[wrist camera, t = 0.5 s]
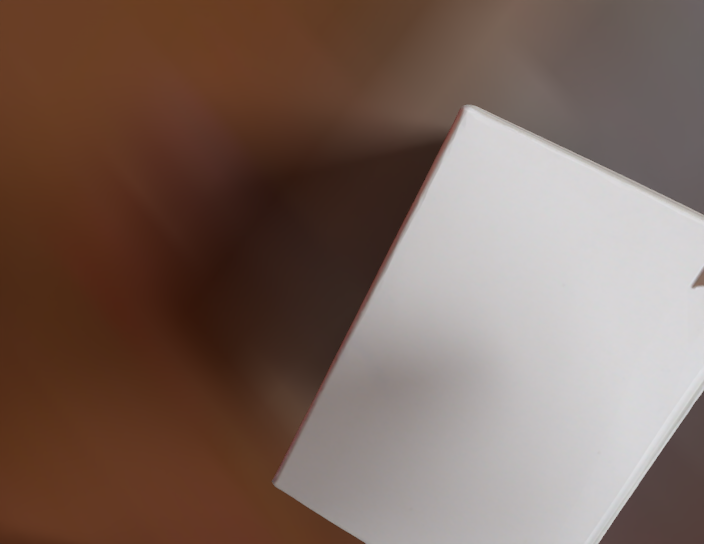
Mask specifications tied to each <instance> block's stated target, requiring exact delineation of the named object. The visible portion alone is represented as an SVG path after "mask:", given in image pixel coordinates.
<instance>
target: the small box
mask: <svg viewBox="0 0 704 544" xmlns="http://www.w3.org/2000/svg"><path fill="white" fill-rule="evenodd" d="M703 390H704V215H703V214H701V213H699V212H697V211H694V210H692V209H690V208H688V207H686V206H684V205H682V204H680V203H678V202H676V201H674V200H672V199H670V198H668V197H666V196H664V195H662V194H660V193H658V192H656V191H654V190H651V189H649V188H647V187H645V186H643V185H641V184H639V183H637V182H635V181H633V180H631V179H629V178H627V177H625V176H622V175H620V174H618V173H616V172H614V171H612V170H610V169H608V168H606V167H604V166H601V165H599V164H597V163H595V162H593V161H591V160H589V159H587V158H585V157H583V156H580V155H578V154H576V153H574V152H572V151H570V150H568V149H566V148H563V147H561V146H559V145H557V144H555V143H553V142H551V141H549V140H546V139H544V138H542V137H540V136H538V135H536V134H534V133H532V132H529V131H527V130H525V129H523V128H521V127H519V126H517V125H515V124H513V123H510V122H508V121H506V120H504V119H502V118H500V117H498V116H496V115H494V114H492V113H490V112H487V111H485V110H483V109H481V108H479V107H477V106H474V105H464V106H462V107H461V108H460V110H459V112H458V115H457V117H456V119H455V121H454V123H453V125H452V127H451V129H450V131H449V133H448V135H447V136H446V138H445V140H444V142H443V144H442V146H441V148H440V150H439V152H438V154H437V156H436V158H435V160H434V162H433V164H432V166H431V168H430V170H429V172H428V174H427V176H426V178H425V180H424V182H423V184H422V186H421V188H420V190H419V192H418V194H417V196H416V198H415V200H414V202H413V204H412V206H411V208H410V210H409V212H408V214H407V215H406V217H405V219H404V221H403V223H402V225H401V227H400V229H399V231H398V233H397V235H396V237H395V239H394V241H393V243H392V245H391V247H390V249H389V251H388V253H387V255H386V257H385V259H384V261H383V263H382V265H381V267H380V269H379V271H378V273H377V275H376V277H375V279H374V281H373V283H372V285H371V287H370V289H369V291H368V293H367V295H366V297H365V299H364V301H363V302H362V304H361V306H360V308H359V310H358V312H357V314H356V316H355V318H354V320H353V322H352V324H351V326H350V328H349V330H348V332H347V334H346V336H345V338H344V340H343V342H342V344H341V346H340V348H339V350H338V352H337V354H336V356H335V358H334V360H333V362H332V364H331V366H330V368H329V370H328V372H327V374H326V376H325V378H324V380H323V382H322V384H321V386H320V388H319V390H318V392H317V394H316V396H315V398H314V400H313V402H312V404H311V406H310V407H309V409H308V411H307V413H306V415H305V417H304V419H303V421H302V423H301V425H300V427H299V429H298V431H297V433H296V435H295V437H294V439H293V441H292V443H291V445H290V447H289V449H288V451H287V453H286V455H285V457H284V459H283V461H282V463H281V465H280V467H279V469H278V471H277V473H276V475H275V476H274V478H273V480H272V482H273V484H274V485H275V487H277V488H278V489H280V490H282V491H283V492H285V493H287V494H288V495H290V496H292V497H293V498H295V499H296V500H298V501H299V502H301V503H302V504H304V505H305V506H307V507H308V508H310V509H311V510H313V511H314V512H316V513H318V514H319V515H321V516H322V517H324V518H326V519H327V520H329V521H330V522H332V523H334V524H335V525H337V526H339V527H340V528H342V529H343V530H345V531H347V532H348V533H350V534H352V535H353V536H355V537H357V538H358V539H360V540H361V541H363V542H365V543H366V544H598V543H599V542H600V540H601V539H602V537H603V536H604V534H605V533H606V531H607V530H608V528H609V527H610V525H611V524H612V522H613V521H614V519H615V518H616V516H617V515H618V513H619V512H620V510H621V509H622V507H623V506H624V505H625V503H626V502H627V500H628V499H629V498H630V496H631V495H632V493H633V492H634V490H635V489H636V487H637V486H638V484H639V483H640V481H641V480H642V478H643V477H644V476H645V474H646V473H647V471H648V470H649V468H650V467H651V465H652V464H653V462H654V461H655V460H656V458H657V457H658V455H659V454H660V452H661V451H662V449H663V448H664V446H665V445H666V444H667V442H668V441H669V439H670V438H671V436H672V435H673V434H674V432H675V431H676V429H677V428H678V426H679V425H680V424H681V422H682V421H683V419H684V418H685V416H686V415H687V414H688V412H689V410H690V409H691V407H692V406H693V404H694V403H695V402H696V400H697V399H698V398H699V396H700V395H701V393H702V392H703Z"/></svg>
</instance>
